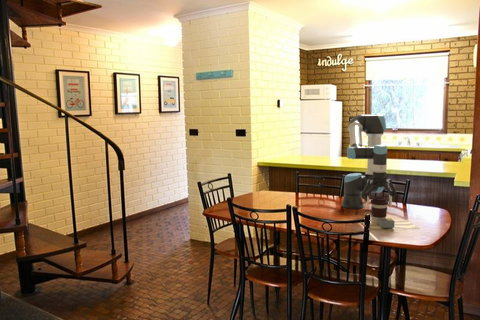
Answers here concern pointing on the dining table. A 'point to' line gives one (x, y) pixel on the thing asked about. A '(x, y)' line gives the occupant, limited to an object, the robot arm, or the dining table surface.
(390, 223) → the block
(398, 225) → the subfloor panel
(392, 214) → the dining table surface
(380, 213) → the coffee cup
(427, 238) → the dining table surface
